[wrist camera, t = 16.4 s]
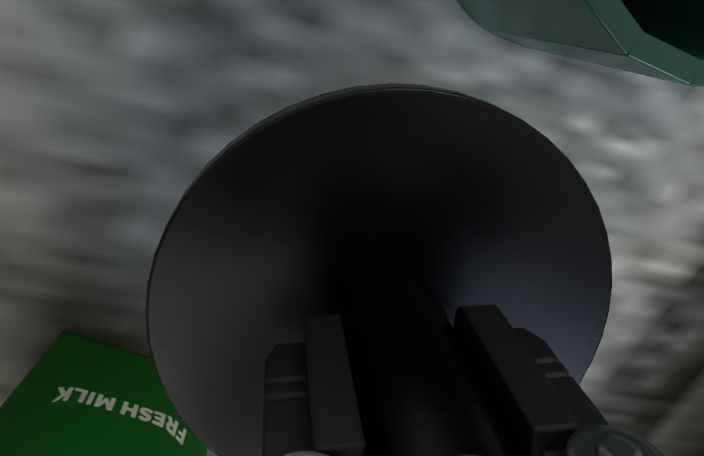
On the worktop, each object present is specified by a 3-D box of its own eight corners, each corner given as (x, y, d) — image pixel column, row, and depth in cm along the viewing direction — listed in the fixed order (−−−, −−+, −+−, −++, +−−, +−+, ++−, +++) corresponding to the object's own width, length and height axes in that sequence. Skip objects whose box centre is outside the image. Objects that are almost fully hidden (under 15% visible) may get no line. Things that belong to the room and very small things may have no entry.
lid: (183, 481, 15) (123, 792, 9) (124, 83, 11) (-48, 182, 5) (556, 447, 16) (713, 705, 10) (620, 74, 12) (931, 147, 6)
